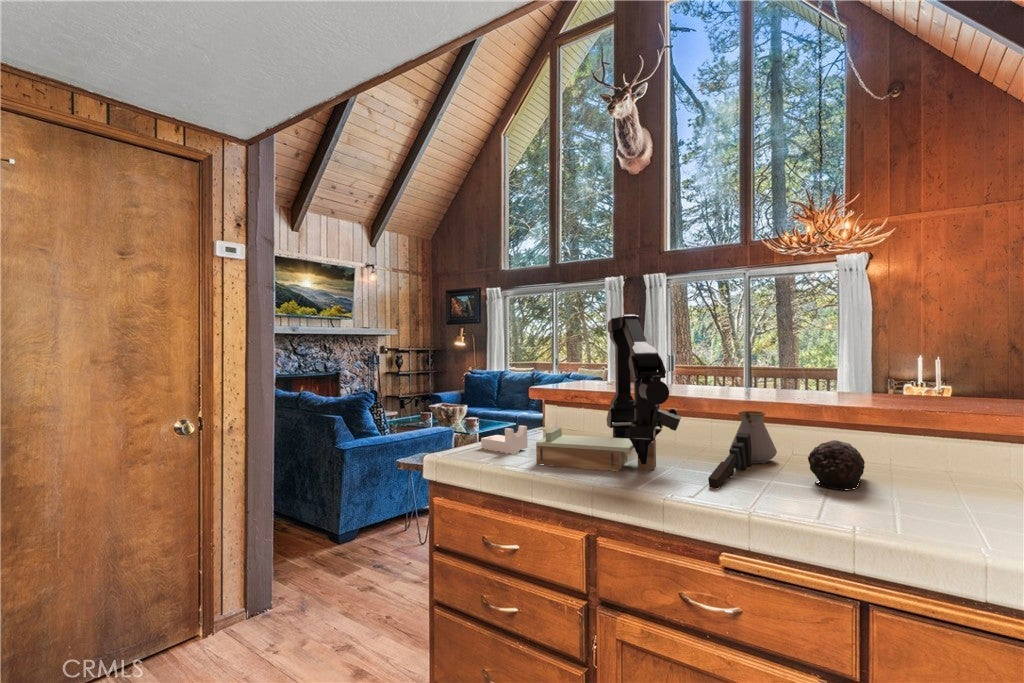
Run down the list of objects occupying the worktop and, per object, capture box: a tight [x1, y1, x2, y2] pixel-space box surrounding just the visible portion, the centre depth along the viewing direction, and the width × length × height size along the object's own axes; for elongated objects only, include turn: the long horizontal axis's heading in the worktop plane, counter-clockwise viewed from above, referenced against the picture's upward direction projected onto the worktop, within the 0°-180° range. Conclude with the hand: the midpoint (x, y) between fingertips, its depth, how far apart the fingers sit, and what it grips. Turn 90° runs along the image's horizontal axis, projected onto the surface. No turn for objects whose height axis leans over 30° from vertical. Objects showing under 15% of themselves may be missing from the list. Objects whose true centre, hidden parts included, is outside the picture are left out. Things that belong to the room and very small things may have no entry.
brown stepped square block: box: [637, 439, 657, 471], centre depth 136 cm, size 4×4×8 cm
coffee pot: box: [729, 410, 778, 464], centre depth 137 cm, size 21×12×15 cm, turn 151°
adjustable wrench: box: [707, 433, 752, 489], centre depth 126 cm, size 8×3×25 cm
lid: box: [535, 426, 635, 453], centre depth 142 cm, size 12×25×3 cm, turn 67°
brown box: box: [535, 446, 628, 472], centre depth 142 cm, size 13×22×5 cm, turn 67°
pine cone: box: [807, 439, 866, 491], centre depth 119 cm, size 10×18×10 cm, turn 142°
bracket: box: [480, 425, 529, 454], centre depth 162 cm, size 13×7×8 cm, turn 47°
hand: (646, 460), depth 136 cm, fingers open, 9 cm apart
